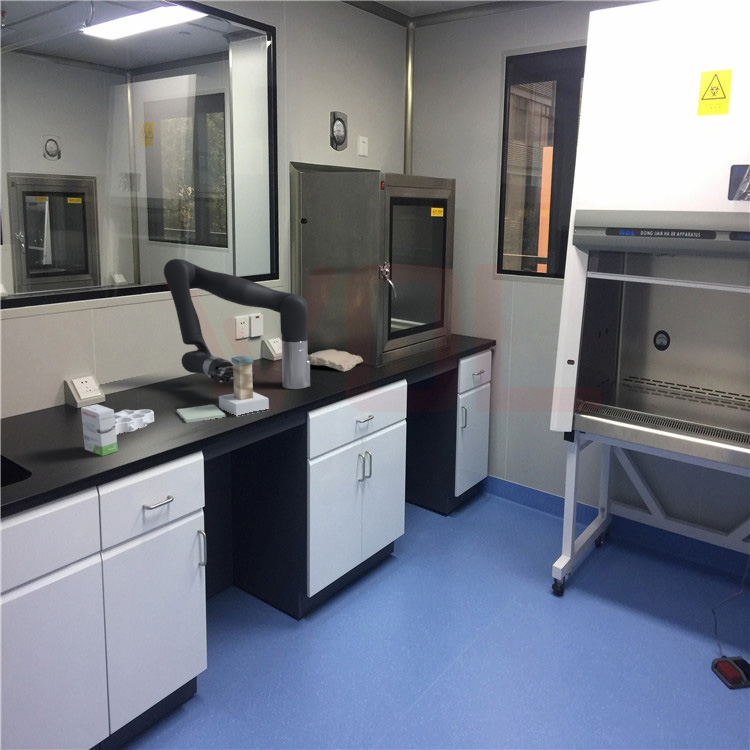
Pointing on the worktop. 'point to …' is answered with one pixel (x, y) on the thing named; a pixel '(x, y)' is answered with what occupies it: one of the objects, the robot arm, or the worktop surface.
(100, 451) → the ink box
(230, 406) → the white square stand
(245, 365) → the plug
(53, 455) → the worktop surface
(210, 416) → the pad
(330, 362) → the flat sandstone piece
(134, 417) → the white multi-hole tray
